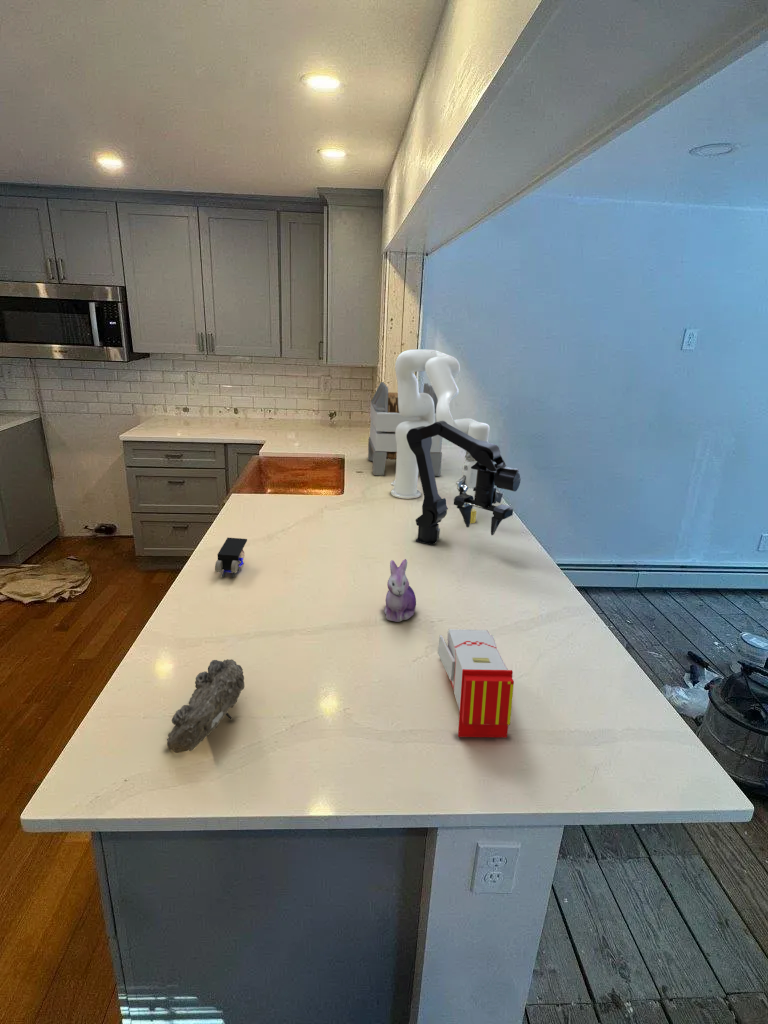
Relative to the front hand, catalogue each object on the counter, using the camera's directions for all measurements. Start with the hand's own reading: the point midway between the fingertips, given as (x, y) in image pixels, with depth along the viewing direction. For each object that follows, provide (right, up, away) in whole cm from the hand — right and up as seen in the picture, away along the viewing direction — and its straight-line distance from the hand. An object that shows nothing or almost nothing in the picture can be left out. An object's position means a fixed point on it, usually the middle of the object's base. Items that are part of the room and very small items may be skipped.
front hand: (480, 530), depth 182 cm
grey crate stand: (-22, +29, +102) cm, 108 cm away
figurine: (-27, -21, -35) cm, 49 cm away
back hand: (+2, +10, +32) cm, 34 cm away
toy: (-13, -32, -64) cm, 72 cm away
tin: (+2, +2, +33) cm, 33 cm away
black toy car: (-76, -11, -15) cm, 78 cm away
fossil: (-64, -33, -74) cm, 103 cm away
